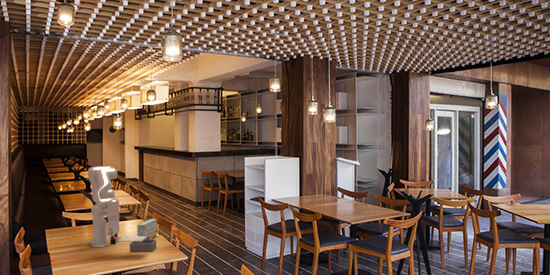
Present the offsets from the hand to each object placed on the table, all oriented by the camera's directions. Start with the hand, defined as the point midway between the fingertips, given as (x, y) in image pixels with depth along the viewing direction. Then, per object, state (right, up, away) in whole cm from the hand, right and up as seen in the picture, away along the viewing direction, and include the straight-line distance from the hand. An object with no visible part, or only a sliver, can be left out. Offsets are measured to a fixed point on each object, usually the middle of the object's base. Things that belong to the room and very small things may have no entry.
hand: (114, 243), depth 275 cm
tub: (+15, -9, +15) cm, 23 cm away
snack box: (+10, -8, +40) cm, 42 cm away
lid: (+10, +1, 0) cm, 10 cm away
